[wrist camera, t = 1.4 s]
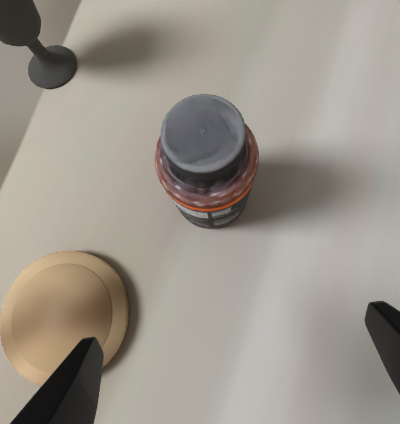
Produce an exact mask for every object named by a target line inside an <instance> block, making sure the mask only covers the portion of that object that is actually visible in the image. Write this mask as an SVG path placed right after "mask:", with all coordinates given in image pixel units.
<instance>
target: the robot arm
mask: <svg viewBox="0 0 400 424" xmlns="http://www.w3.org/2000/svg"><path fill="white" fill-rule="evenodd" d="M365 324H366V327H367V329H368V331H369V334H370V336H371V338H372V340H373V342H374V344H375V347H376V349H377V351H378V353H379V355H380V358H381V360H382V362H383V364H384V366H385V368H386V370H387V372H388V374H389V376H390V378H391V380H392V382H393V383H394V385H395V387H396V389H397V390H398V392H399V394H400V311H398V310H397V309H395V308H394V307H392V306H391V305H389V304H388V303H386V302H384V301H376V302H370V303H369V304H368V307H367V311H366V316H365ZM103 360H104V353H103V350H102V348H101V346H100V344H99V342H98V340H97V338H96V337H86V338H83V339H81V340H80V341H79V343H78V344H77V345H76V346H75V347H74V349H73V350H72V351H71V352H70V353H69V354H68V356H67V357H66V358H65V359H64V360H63V362H62V363H61V364H60V365H59V366H58V367H57V369H56V370H55V371H54V372H53V373H52V375H51V376H50V377H49V378H48V379H47V381H46V382H45V383H44V384H43V385H42V386H41V388H40V389H39V390H38V391H37V392H36V394H35V395H34V396H33V397H32V398H31V399H30V401H29V402H28V403H27V404H26V405H25V407H24V408H23V409H22V410H21V411H20V412H19V414H18V415H17V416H16V417H15V418H14V420H13V421H12V422H11V423H10V424H94V420H95V415H96V410H97V405H98V398H99V391H100V383H101V375H102V368H103Z"/></svg>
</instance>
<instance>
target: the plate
mask: <svg viewBox="0 0 400 424" xmlns="http://www.w3.org/2000/svg"><path fill="white" fill-rule="evenodd" d="M128 322H129V301H128V295H127V292H126V289H125V286H124V284H123V282H122V280H121V278H120V277H119V275H118V273H117V272H116V271H115V270H114V269H113V268H112V267H111V266H110V265H109V264H108V263H107V262H105V261H104V260H102V259H101V258H99V257H96V256H94V255H91V254H88V253H82V252H76V251H62V252H56V253H52V254H49V255H47V256H44V257H42V258H40V259H38V260H36V261H35V262H33V263H32V264H31V265H29V266H28V267H27V268H26V269H25V270H24V271H22V273H21V274H20V275H19V276H18V277H17V278H16V280H15V281H14V283H13V284H12V286H11V287H10V289H9V291H8V293H7V295H6V298H5V300H4V303H3V307H2V311H1V317H0V336H1V341H2V345H3V348H4V351H5V354H6V356H7V358H8V360H9V361H10V363H11V364H12V366H13V367H14V368H15V369H16V370H17V372H18V373H19V374H21V375H22V376H23V377H24V378H26V379H27V380H29V381H31V382H33V383H35V384H38V385H40V386H42V385H43V384H44V383H45V382H46V381H47V379H48V378H49V377H50V376H51V375H52V373H53V372H54V371H55V370H56V369H57V367H58V366H59V365H60V364H61V363H62V362H63V360H64V359H65V358H66V357H67V356H68V354H69V353H70V352H71V351H72V350H73V349H74V347H75V346H76V345H77V344H78V343H79V341H80V340H81V339H83V338H86V337H96V338H97V340H98V342H99V344H100V346H101V348H102V350H103V353H104V360H103V367H104V366H105V365H106V364H107V363H108V362H109V361H110V360H111V359H112V358H113V356H114V355H115V354H116V352H117V351H118V349H119V348H120V346H121V344H122V342H123V339H124V337H125V334H126V331H127V327H128Z"/></svg>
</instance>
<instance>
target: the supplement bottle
mask: <svg viewBox="0 0 400 424" xmlns="http://www.w3.org/2000/svg"><path fill="white" fill-rule="evenodd" d="M258 162H259V152H258V146H257V143H256V140H255V137H254V135H253V133H252V132H251V130H250V129H249V127H248V126H247V125H246V124H245V123H244V120H243V117H242V115H241V113H240V112H239V111H238V109H237V108H236V107H235V106H234V105H233V104H232V103H230V102H229V101H228V100H225V99H224V98H222V97H219V96H215V95H210V94H199V95H193V96H190V97H187V98H185V99H183V100H181V101H180V102H178V103H177V104H176V105H174V106H173V107H172V108H171V109H170V111H169V112H168V113H167V115H166V116H165V118H164V120H163V124H162V127H161V135H160V137H159V140H158V142H157V145H156V150H155V167H156V171H157V175H158V177H159V180H160V182H161V184H162V186H163V187H164V188H165V190H166V192H167V193H168V195H169V196H170V197H171V199H172V200H173V202H174V203H175V204H176V206H177V207H178V209H179V210H180V212H181V213H182V215H183V216H184V217H185V218H186V219H187V220H189V221H190V222H191V223H193V224H194V225H196V226H199V227H202V228H207V229H216V228H221V227H224V226H226V225H228V224H230V223H232V222H233V221H234V220H235V219H237V218H238V216H239V215H240V214H241V212H242V211H243V209H244V207H245V204H246V201H247V198H248V195H249V193H250V190H251V187H252V184H253V181H254V178H255V175H256V172H257V168H258Z"/></svg>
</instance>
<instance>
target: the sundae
mask: <svg viewBox="0 0 400 424" xmlns="http://www.w3.org/2000/svg"><path fill="white" fill-rule="evenodd" d="M40 27H41V19H40V16H39V13H38V11H37V9H36V6H35V4H34V2H33V0H0V41H2V42H3V43H5V44H9V45H13V46H28V48H29V49H30V50H31V51H32V52H33V54H34V56H33V57H32V59H31V61H30V63H29V67H28V74H29V77H30V79H31V81H32V82H33V83H34V84H35V85H37V86H39V87H41V88H46V89H47V88H56V87H59V86H61V85H63V84H65V83H66V82H67V81H68V80H69V79H70V78H71V77H72V75H73V74H74V71H75V69H76V59H75V56H74V54H73V53H72V52H71V51H70V50H69V49H67V48H66V47H63V46H58V45H55V46H49V47H46V48H45V47H44V46H43V45H42V44H41V43H40V41H39V40H38V39H37V37H38V36H39V34H40Z"/></svg>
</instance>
